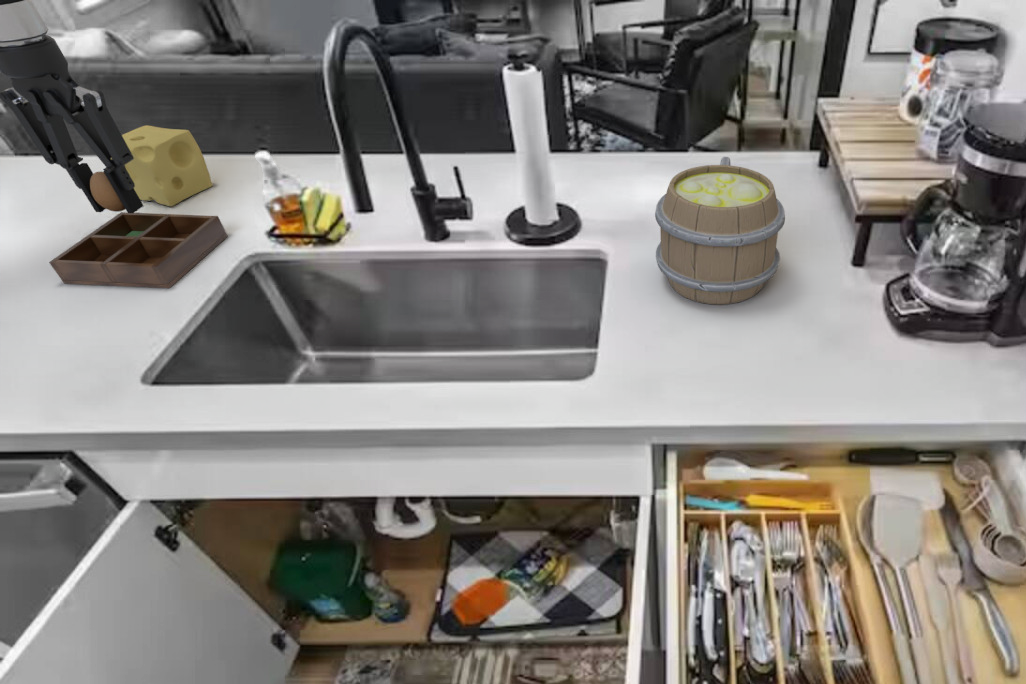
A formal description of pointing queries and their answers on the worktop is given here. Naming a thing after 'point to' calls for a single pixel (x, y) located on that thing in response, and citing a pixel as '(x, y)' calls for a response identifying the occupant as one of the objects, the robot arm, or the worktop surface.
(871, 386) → the worktop surface
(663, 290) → the worktop surface
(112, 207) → the egg
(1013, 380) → the worktop surface
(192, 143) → the cheese
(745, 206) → the mug
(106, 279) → the grid
